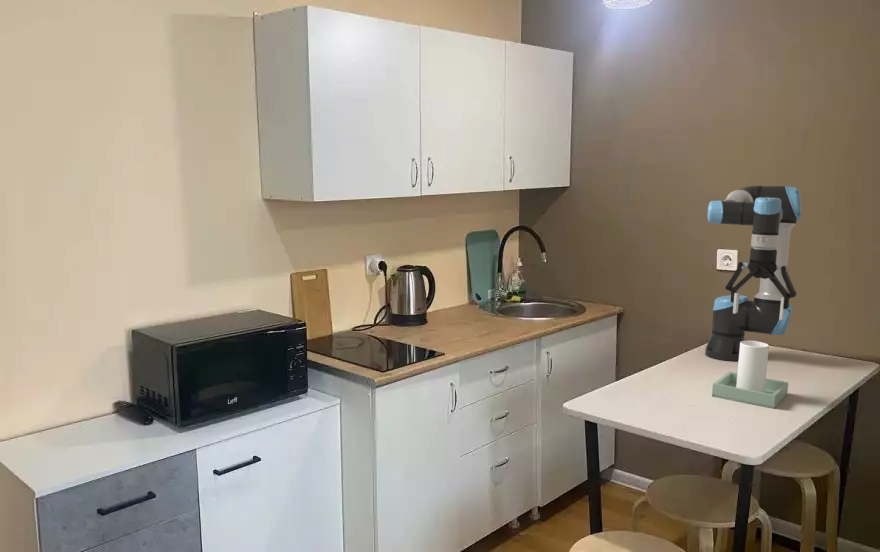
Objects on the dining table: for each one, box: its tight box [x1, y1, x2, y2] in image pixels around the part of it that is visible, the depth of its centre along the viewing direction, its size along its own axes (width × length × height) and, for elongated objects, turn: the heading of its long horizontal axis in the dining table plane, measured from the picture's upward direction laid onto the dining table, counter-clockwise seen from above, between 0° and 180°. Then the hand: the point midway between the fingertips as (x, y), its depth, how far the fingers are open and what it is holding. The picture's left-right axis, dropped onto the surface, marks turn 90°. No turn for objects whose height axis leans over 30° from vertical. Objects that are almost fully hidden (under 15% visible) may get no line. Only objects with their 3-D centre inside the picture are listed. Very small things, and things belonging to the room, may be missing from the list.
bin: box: [711, 371, 789, 410], centre depth 226 cm, size 18×18×4 cm
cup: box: [736, 340, 770, 393], centre depth 225 cm, size 8×8×16 cm
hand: (757, 315), depth 225 cm, fingers open, 13 cm apart
